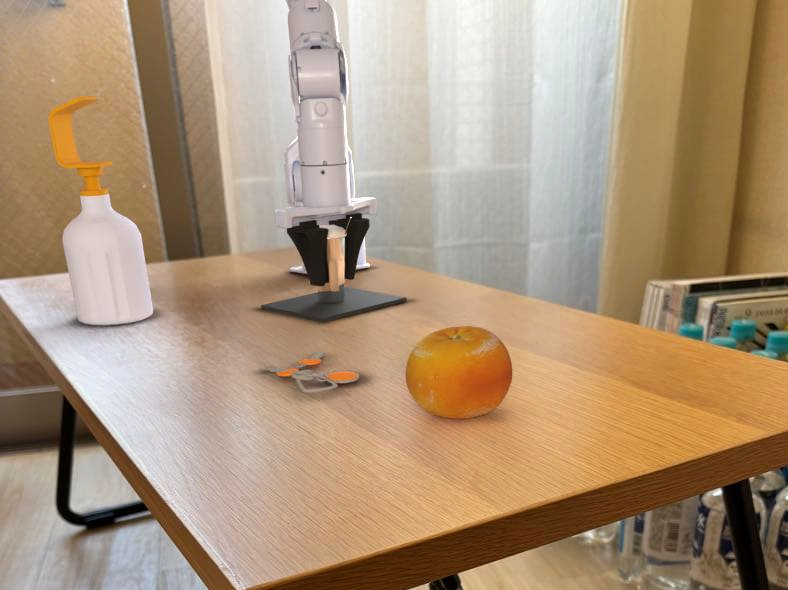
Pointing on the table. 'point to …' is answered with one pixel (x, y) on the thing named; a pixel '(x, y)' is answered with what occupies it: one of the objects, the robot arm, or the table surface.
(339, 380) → the key chain
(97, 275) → the soap bottle
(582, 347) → the table surface
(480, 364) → the fruit
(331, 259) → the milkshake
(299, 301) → the mat
